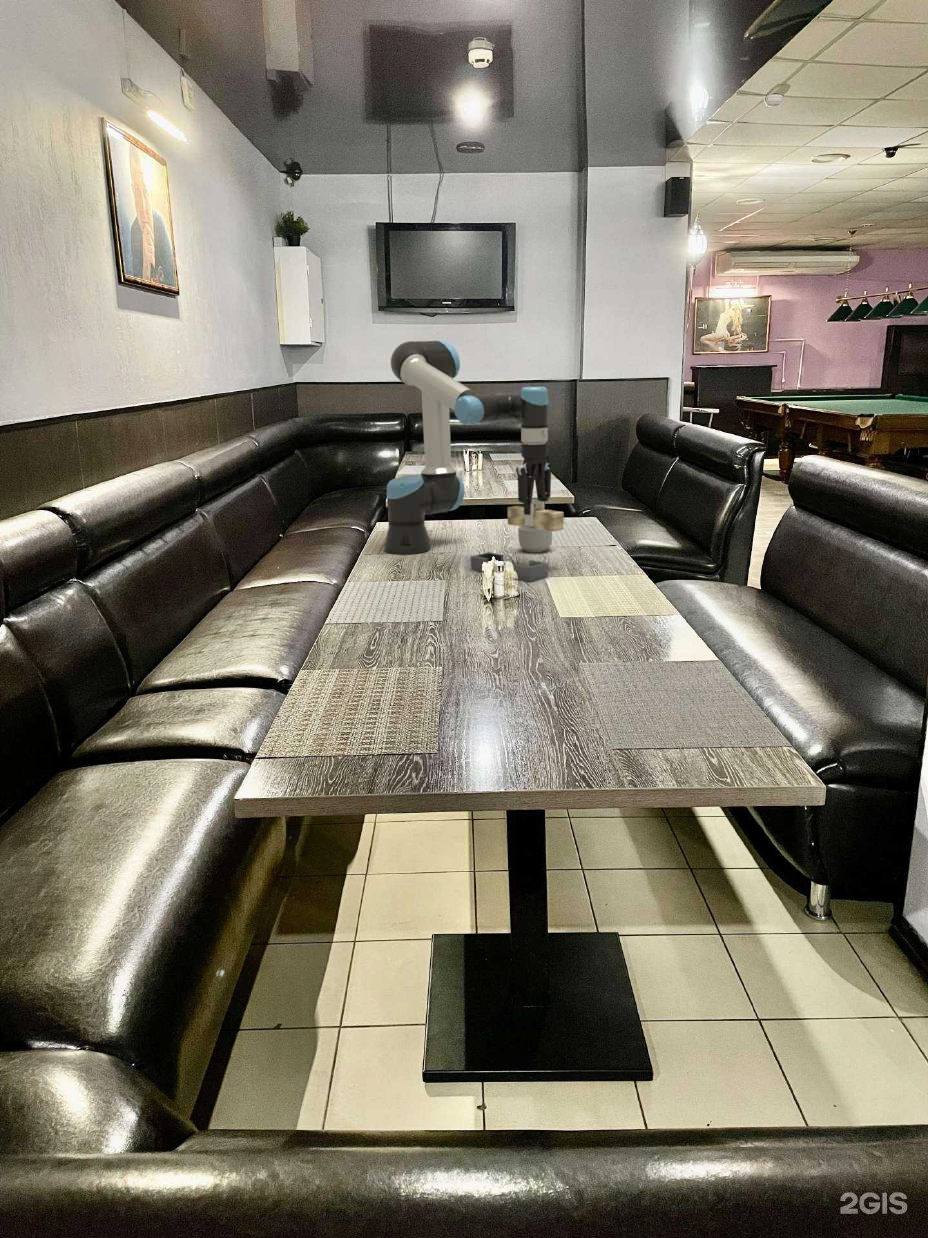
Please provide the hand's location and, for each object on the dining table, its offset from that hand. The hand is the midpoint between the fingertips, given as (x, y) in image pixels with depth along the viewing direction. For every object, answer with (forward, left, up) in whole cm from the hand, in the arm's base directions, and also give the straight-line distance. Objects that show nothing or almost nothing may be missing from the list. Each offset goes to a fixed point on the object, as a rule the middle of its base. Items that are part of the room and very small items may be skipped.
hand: (534, 524), depth 255 cm
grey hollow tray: (+9, -12, -12) cm, 19 cm away
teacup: (-15, +17, -13) cm, 26 cm away
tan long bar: (0, 0, -1) cm, 1 cm away
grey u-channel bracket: (-8, -12, -12) cm, 19 cm away
